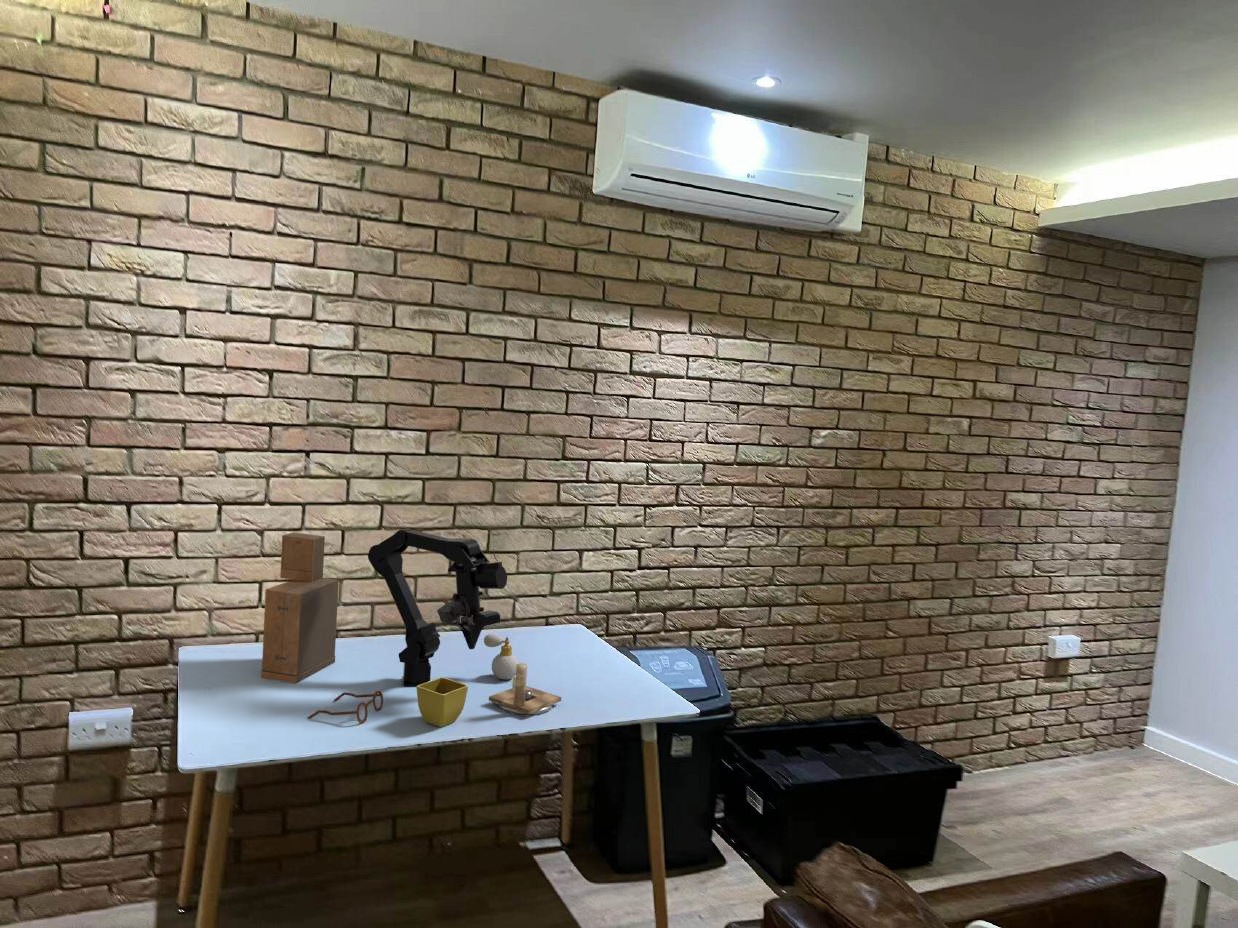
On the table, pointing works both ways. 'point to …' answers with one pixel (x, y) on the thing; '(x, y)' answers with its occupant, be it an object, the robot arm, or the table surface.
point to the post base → (527, 698)
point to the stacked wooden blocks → (300, 613)
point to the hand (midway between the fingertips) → (471, 649)
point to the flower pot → (441, 700)
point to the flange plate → (530, 704)
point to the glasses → (357, 707)
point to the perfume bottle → (502, 657)
